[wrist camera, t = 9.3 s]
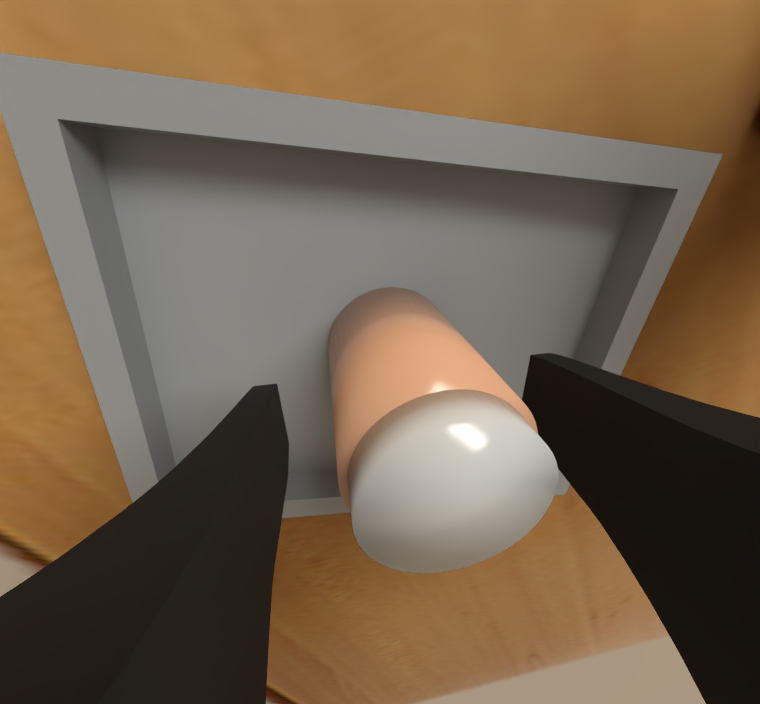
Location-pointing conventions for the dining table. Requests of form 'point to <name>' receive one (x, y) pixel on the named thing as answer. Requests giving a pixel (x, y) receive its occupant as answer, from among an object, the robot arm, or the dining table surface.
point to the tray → (320, 244)
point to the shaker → (429, 439)
